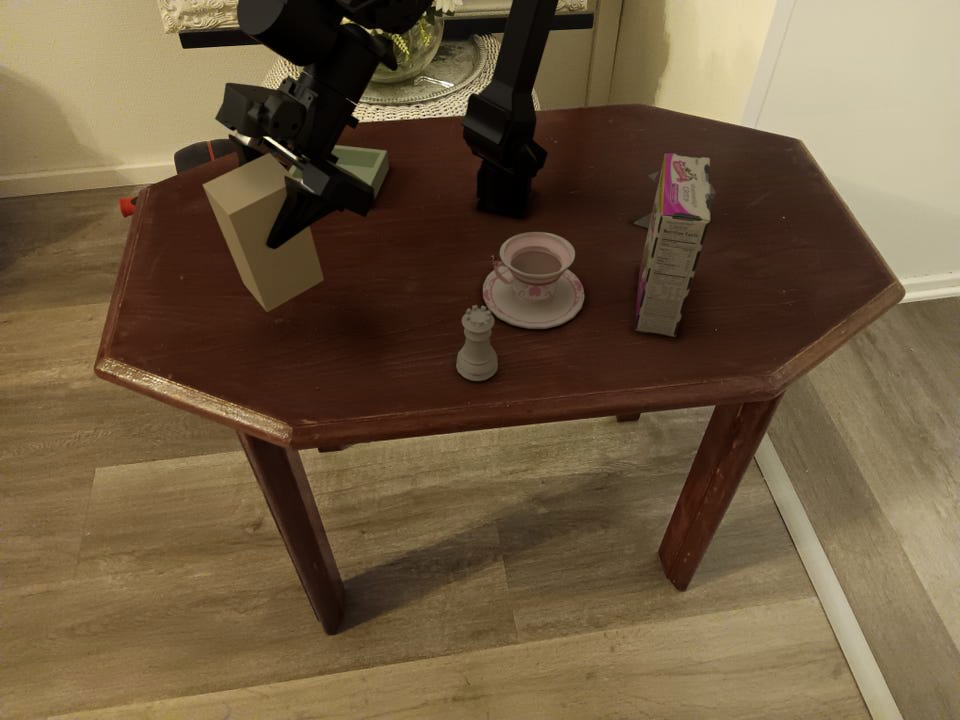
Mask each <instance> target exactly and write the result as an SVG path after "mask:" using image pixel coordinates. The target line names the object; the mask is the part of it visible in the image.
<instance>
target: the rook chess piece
mask: <svg viewBox="0 0 960 720" xmlns="http://www.w3.org/2000/svg"><path fill="white" fill-rule="evenodd" d="M461 324H462V327H464V329H463V334H464V336H465V342H464V345H463V346H462V347H461V348H460V350H459V351H458V353H457V356H456V365H455V367H456V369H457V372H458V373H459V374H460V375H461V376H462V377H463V378H465V379H466V380H469V381H471V382H482V381H487V380H488V379H489V378H491V377H494V375H495V374H496V372H497V371H498V368H499V363H498V356H497V353H496V351H495V349H494V348H493V346H492V344H491V339H490V337H491V336H492V332H493V331H492V328H493V327H494V325H495V318H494V316H493V314H492V312H491V311H490V310H489V309H488V310H487V306H485V305H481V307H480V308H478V304H476V305H475V304H474V305H472V308H469V307H468V308H467V309H466V311H465V314H463V316H462V317H461Z"/></svg>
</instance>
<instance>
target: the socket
mask: <svg viewBox="0 0 960 720" xmlns="http://www.w3.org/2000/svg"><path fill="white" fill-rule="evenodd" d="M332 154H334V155H335V156H337V157H338V158H339V159H338V161H337V163H336V165H338V166H340V167H342V168H344V169H345V170H347V171H349V172H351V173H353V174H354V175H356V176H357V177H359V178H360V179H362V180H363V181H364V182H366V183H367V184H369V185H370V186H372V187H373V188H374V195H375V199H376V198H377V196H378V194H379V191H380V189H381V187H382V186H383V183H384V181H385V178H386V176H387V174H388V172H389V169H390V168H389V155H388V150H385V149H375V148H368V147H367V148H365V147H359V146H358V147H355V146H347V145H340V144H336V145H335V147H334V149H333V151H332ZM303 156H304V155H303ZM304 157H305V156H304ZM305 158H306V157H305ZM288 172H289V173H290V174H291V175H292V176H293V177H294V178H295V179H296V180H297V181H298V182H300V181H301V179H302V171H301V170H299V169H298V168H297V167H295V166H294V165H292V164H291V166H290V169H289V170H288ZM372 207H373V205H372V206H371V208H370V210H371V209H372Z"/></svg>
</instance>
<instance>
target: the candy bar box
mask: <svg viewBox="0 0 960 720" xmlns="http://www.w3.org/2000/svg"><path fill="white" fill-rule="evenodd" d="M710 182H711V159H710V157H704V156H698V157H697V156H693V155H687V154H681V155H680V154H679V153H669V152H667V153H664V156H663V160H662V164H661V169H660V175H659V179H658V182H657V183H658V184H657V188H656V192H655V198H654V202H653V206H652V211H651V213H652V216H651V220H650V225H649V228H647V229H648V230H647V234H646V240H645V244H644V249H643V253H642V258H641V262H640V267H639V273H638V283H637V297H636V307H635V321H634V323H635V324H634V331H635V332H639V333H644V334H652V335H657V336H658V335H659V336H665V337H671V338H676V337H677V335H678V334H677V333H678V330H679V327H680V324H681V320H682V318H683V313H684V311H685V307H686V304H687V300H688V297H689V293H690V290H691V287H692V283H693V279H694V276H695V273H696V269H697V266H698V263H699V260H700V257H701V253H702V249H703V245H704V243H705V238H706V235H707V232H708V228H709V227H710V226H709V225H710V222H711V205H710Z"/></svg>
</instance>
